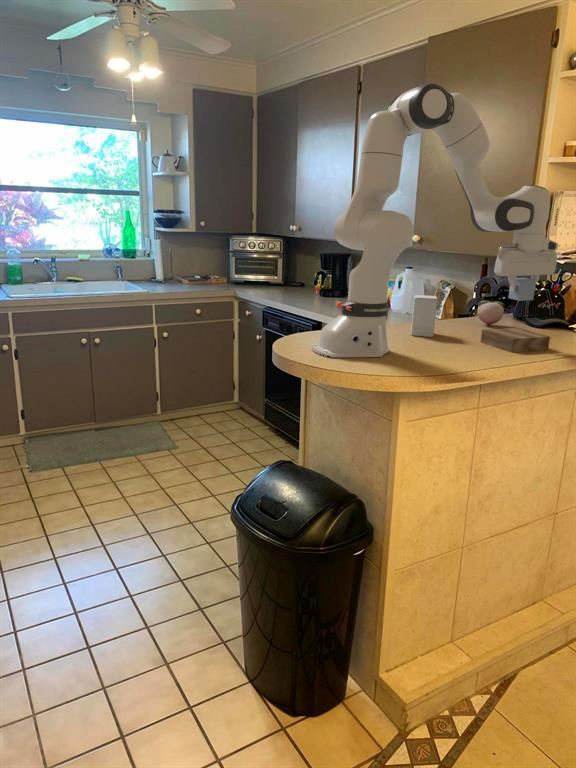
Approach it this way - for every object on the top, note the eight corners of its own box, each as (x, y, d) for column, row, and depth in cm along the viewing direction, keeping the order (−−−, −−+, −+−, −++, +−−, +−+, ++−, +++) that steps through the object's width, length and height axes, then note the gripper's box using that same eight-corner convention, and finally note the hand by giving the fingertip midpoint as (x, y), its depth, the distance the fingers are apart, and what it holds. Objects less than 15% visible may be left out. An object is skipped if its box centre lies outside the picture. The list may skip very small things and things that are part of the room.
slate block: (519, 300, 172) (522, 280, 170) (508, 298, 176) (510, 278, 175) (533, 300, 174) (536, 280, 172) (521, 297, 178) (524, 278, 176)
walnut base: (511, 352, 170) (513, 338, 169) (480, 342, 183) (482, 329, 182) (548, 349, 175) (550, 336, 174) (515, 339, 188) (517, 327, 186)
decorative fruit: (480, 327, 207) (483, 299, 204) (473, 323, 215) (476, 296, 212) (506, 328, 207) (510, 300, 204) (498, 324, 215) (501, 297, 212)
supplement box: (433, 337, 188) (437, 298, 184) (410, 335, 189) (414, 297, 186) (432, 333, 195) (436, 295, 191) (410, 331, 196) (414, 294, 193)
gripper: (507, 244, 164) (501, 293, 168) (563, 244, 171) (555, 290, 175) (492, 243, 169) (486, 290, 173) (547, 242, 176) (540, 288, 180)
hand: (521, 290), depth 174 cm, fingers closed on slate block, 5 cm apart
